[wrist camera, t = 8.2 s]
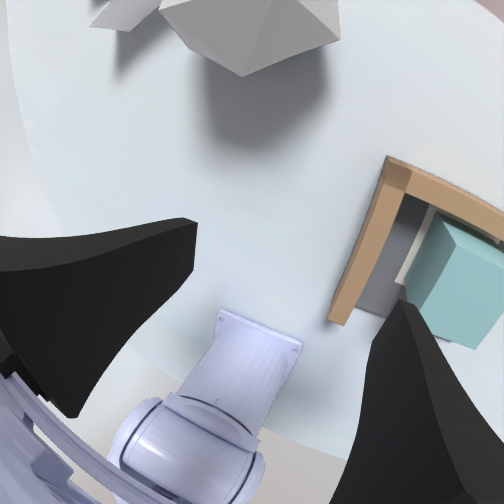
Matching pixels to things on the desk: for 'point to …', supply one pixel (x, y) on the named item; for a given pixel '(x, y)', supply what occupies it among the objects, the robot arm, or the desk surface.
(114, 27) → the file organizer
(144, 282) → the robot arm
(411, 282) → the cube
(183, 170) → the desk surface
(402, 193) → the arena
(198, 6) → the die
